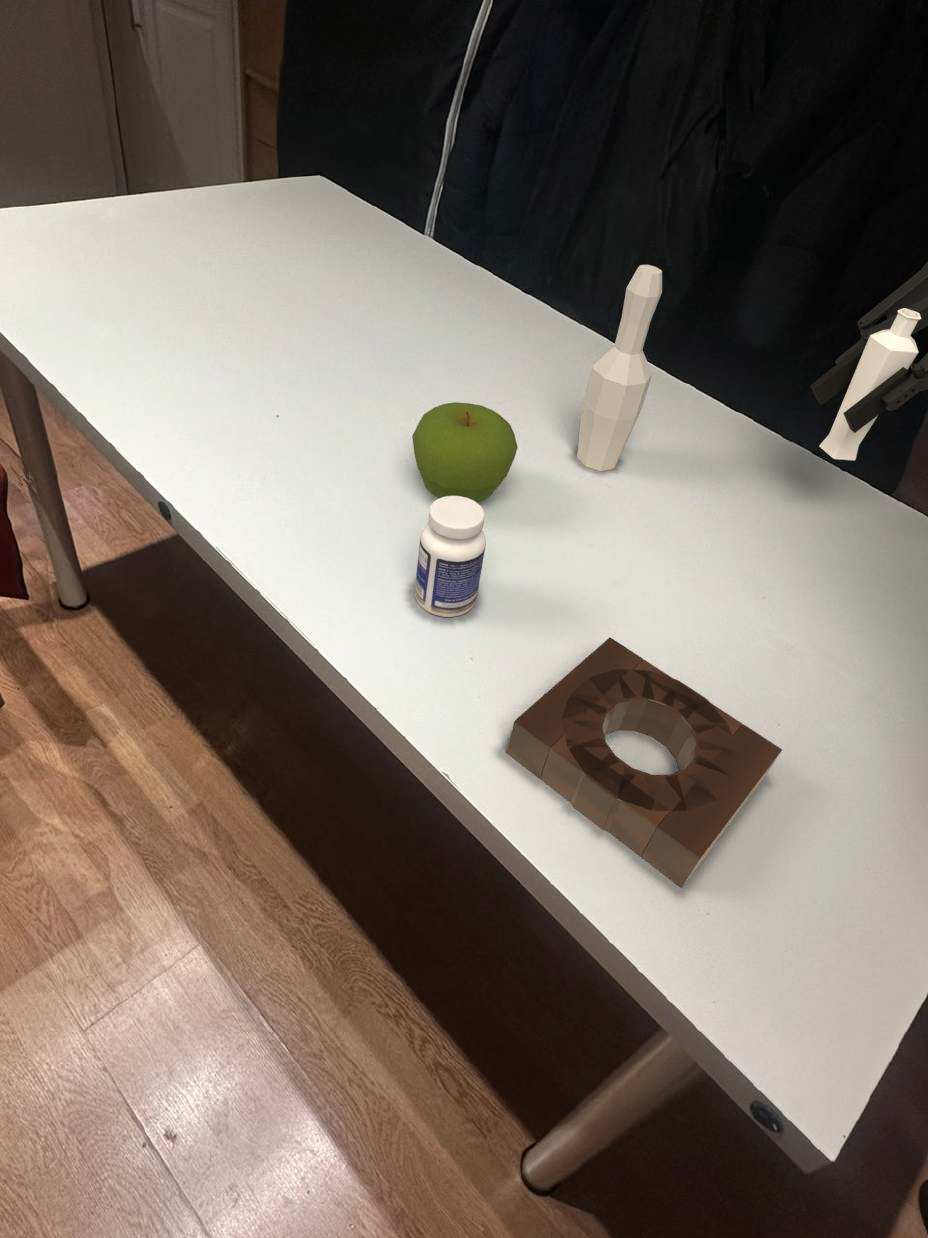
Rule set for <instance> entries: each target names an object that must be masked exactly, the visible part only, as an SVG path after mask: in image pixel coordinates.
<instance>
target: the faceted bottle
mask: <svg viewBox="0 0 928 1238" xmlns="http://www.w3.org/2000/svg"><path fill="white" fill-rule="evenodd" d="M662 293H663V270H662V269H660V268H658V267H657V266H654V265H650V264H640V265H639V266H638V267H637V269H636V270H635V272H634V274H633V276H632V278H631V279H630V280H629V283H628V285H627V286H626V288H625V295H624V296H625V297H624V301H623V307H622V312H621V313H622V314H621V319H620V322H619V326H618V330H617V335H616V338H615V341H614V345H613V346H612V347H610V348H609V349H608V350H607V351H606V352H604V353H603V354H602V355H601V356H600V357H599V358H598V359H597V360H596V361H595V362H594V363H593V365H592V366H591V368H590V372H589V377H588V380H587V383H586V387H585V393H584V396H583V401H582V405H581V407H582V408H581V417H580V426H579V433H578V434H579V435H578V445H577V454H576V458H577V460H579V462H580V463H582V464H583V465H584V467H586V468H589V469H592V470H594V471H598V472H605V471H610V470H614V469H615V467H617V464H618V462H619V461H620V458H621V456H622V453H623V451H624V449H625V447H626V445H627V442H629V441H628V440H629V439H630V436H631V434H632V432H633V429H634V428H635V424H636V423H637V421H638V418H639V416H640V414H641V412H642V409H643V406H644V404H645V400H646V397H647V393H648V390H649V387H650V383H651V380H652V377H653V372H652V369H651V367H650V364H649V362H648V359H647V357H646V355H645V353H644V351H643V349H644V346H645V343H646V339H647V335H648V332H649V328H650V325H651V322H652V318H653V316H654V314H655V311H656V309H657V306H658V303H659V302H660V299H661V295H662Z"/></svg>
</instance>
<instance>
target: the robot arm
mask: <svg viewBox="0 0 928 1238" xmlns="http://www.w3.org/2000/svg"><path fill="white" fill-rule="evenodd" d="M903 308H906V309H909V310H912V311H915V312H918V313H919V314H920V316H921V319H920V320H918V322H917V324H916V326H915V328H914V330H913V331H912V333H911V335H910V336H912V335H913V334H916V333H917V332H919V331H921V330H922V329H925V328H927V327H928V260H927V261H926V262H925V264H924V265H923V266H922V268H921V269H920V270H919V271H918V272H916V273H915V274H914V275H913V276H912V277H910V278H909V279H907V280H906V281H905V282H903V284H901V285H900V286H899V287H898V288H897V289H895V290H894V291H893V292H891V293H890V294H889V295H888V296H887V297H886V298H884V299H883V300H882V301H880V302H879V303H878V304H877V305H875V306H874V307H873V308H871V309H870V310H869V311H868V312H867V313H866V314H864V315H863V316H862V317H861V318H859V320H857V327H858V329H859V333H860V334H861V338H860V339H859V340H858V341H856V343H854V344H853V345H852V346H851V347H849V348H847V350H846V351H844V352H843V353H842V354H841V355H839V356H838V357H837V358H836V360H834V361H835V362H834V363H835V365H834V366H833V367H832V368H830V369H829V370H828V371H827V372H826V373H824V374H822V376H820V377H819V378H817V380H815V381H814V382H813V383H812V384H811V385H810V388H811V390H812V393H813V395H814V397H815V399H816V401H817V402H818V403H819V404H820V405H821V406H823V405H824V404H826V403H827V402H828V401H829V400H831V399H832V398H833V397H834V396H836V395H837V394H839V393H840V392H841V391H842V390H843V389H845V388H846V387H847V386H849V385H850V383H851V380H852V378H853V375H854V373H855V371H856V368H857V366H858V363H859V361H860V358H861V356H862V354H863V351H864V349H865V346H866V344H867V342H868V339H869V337H870V335H872V334H874V333H877V332H879V331H882V330H886V329H890V328H891V326H892V324H893V322H894V320H895V319H896V317H897V315H898V310H900V309H903ZM910 369H911V373H910V371H909V369H908V370H907V369H906V368H904V367H902V368H901V369H900V370H899V371H897V372H896V373H895V374H893V375H892V376H891V377H889V378H888V379H887V380H886V381H884V382H883V383H882V384H880V385H879V386H878V387H876V388H875V389H874V390H873V391H871V392H870V393H869V394H867V395H866V396H865V397H863V398H862V399H861V400H860V401H858V402H857V403H856V404H854V405H853V406H852V407H850V408H849V409H848V410H847V411H845V412H844V413H843V414H844V416H845V419H846V421H847V423H848V426H849V428H850V429H851V430H852V431H853V432H854V433H856V432H857V431H858V430H860V429H861V428H862V427H864V426H865V425H866V424H867V423H869V422H870V421H871V420H873V419H874V418H875V417H877V416H878V417H879V416H880V415H881V414H882V413H883V412H885V411H886V410H888V411H889V412H892V411H895V410H897V409H898V408H901V406H902V405H904V404H906V402H908V401H909V400H910V399H911V398H913V397H915V396H916V395H917V394H918V393H920V392H922V391H926V390H928V352H927V353H926V354H925V355H924V356H923V357H922V358H921V359H920V360H919V361H918V362H917V363H914V362H912V363H911V365H910ZM878 417H877V418H878Z"/></svg>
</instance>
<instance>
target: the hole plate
mask: <svg viewBox="0 0 928 1238" xmlns="http://www.w3.org/2000/svg"><path fill="white" fill-rule="evenodd" d="M617 731H633V732H634V731H635V732H638V733H640V734H642V735H647V736H649V737H652V738H653V739H655V740H656V741H657V742H659V743H661V745H664V746H665V747H666V749H667V750H668V751H669V752H670V754H671V755H672V756H673V757H674V759H675V760H676V763H677V767H678V769H679V770H678V771H676V772H673V773H671V774H653V773H648V772H646V771H643V770H641V769H637V768H634V767H632V766H631V765H629V764H628V763H626V762H625V761H624V760H623V759H621V758H619V757H618V756H617V755H616V753H614V751H613V750H612V748H611V747H610V745H609V744H608V743H607V741H606V736H605V735H608V734H611V733H614V732H617ZM782 751H783V749H782V748H781V747H780V746H777V745H776V744H775V743H773V742H771V740H768V739H767V738H765V737H764V736H762V735H761V734H759V733H758V732H756V731H755V730H753V729H752V728H750V727H749V726H747V725H746V724H744V723H742V722H741V721H739V720H738V719H736V718H734V717H733V716H732V715H730V714H728V713H727V712H726V711H724V710H723V709H721V708H719V707H718V706H716V705H715V704H713V703H712V702H711V701H710V700H708V698H706V697H705V696H704V695H702V694H701V693H699V692H697V691H696V690H694V689H693V688H692V687H690V686H689V685H687V684H685V683H683V682H682V681H681V680H678V679H676V678H673V677H672V676H670V675H669V674H667V673H666V672H664V671H663V670H661V669H660V668H658V667H656V666H655V665H654V664H652V663H651V662H649V661H647V659H644V658H643V657H641V656H640V655H639V654H637V653H635V652H634V651H632V650H631V649H629V648H628V647H626V646H625V645H623V644H622V643H620V642H618V641H617V640H615V639H614V638H612V637H608V638H607V639H606V640H605V641H603V642H602V643H601V644H600V645H599V646H598V647H596V649H594V650H593V651H591V653H590V654H589V655H588V656H587V657H585V658H584V659H583V660H582V661H581V662H580V663H579V664H577V665H576V666H575V667H573V669H571V671H570V672H568V673H567V674H566V675H565V676H564V677H563V678H561V679H560V680H559V681H558V682H557V683H556V684H555V685H553V686H552V687H551V688H549V690H548V691H546V693H544V694H543V695H542V696H541V697H540V698H539V699H538V700H536V701H535V702H534V703H533V704H532V705H530V707H528V708H527V709H526V710H525V711H524V712H523V713H521V714H520V715H519V716H518V717H517V718H516V719H515V720H513V724H512V729H511V733H510V737H509V740H508V744H507V748H506V751H505V753H506V754H507V755H508V756H509V757H510V758H512V759H514V760H515V762H517V763H518V764H520V765H521V766H522V767H524V768H526V770H528V771H529V772H531V774H533V775H534V776H536V777H537V778H538V779H540V781H542V782H543V783H545V784H546V785H547V786H548V787H550V788H551V789H552V790H554V791H555V792H556V793H558V794H559V795H560V796H562V797H563V798H564V799H565V800H567V801H568V802H569V803H570V804H571V805H572V806H573V808H574V809H575V810H576V811H578V812H579V813H581V814H582V815H583V816H585V817H586V818H587V819H588V820H589V821H591V822H592V823H594V824H595V825H596V826H597V827H599V828H600V829H602V830H603V831H606V832H608V833H610V834H611V835H612V836H614V838H616V839H617V840H619V841H620V842H621V843H622V844H624V845H625V846H626V847H627V848H629V849H630V850H631V851H633V852H634V853H636V854H637V855H638V856H639V857H641V858H642V859H643V860H644V861H646V862H647V863H648V864H650V865H651V866H652V867H654V868H655V869H656V870H657V871H659V873H661V874H663V875H664V876H665V877H666V878H667V879H669V880H671V881H672V882H673V883H674V884H676V885H677V886H678V887H680V889H682V888H683V887H684V886H685V884H686V883H687V882H688V880H689V879H690V878H691V876H692V875H693V874H694V872H695V871H696V870H697V868H698V867H699V866H700V864H702V862H703V861H704V860H705V858H706V857H707V855H708V854H709V853H710V851H711V850H712V849H713V847H714V846H715V845H716V843H717V842H718V840H719V839H720V838H721V837H722V835H723V834H724V832H725V831H726V830H727V828H728V827H729V826H730V824H731V823H732V822H733V820H734V819H735V817H737V815H738V814H739V813H740V811H741V810H742V808H743V807H744V806H745V804H746V803H747V802H748V801H749V799H750V798H751V797H752V795H753V793H754V792H755V791H756V790H757V788H759V786H760V785H761V783H762V782H763V781H764V779H765V777H766V776H767V774H768V773H769V771H770V770H771V768H772V767H773V765H774V764H775V762H776V760H777V759H778V757H779V756H780V754H781V753H782Z"/></svg>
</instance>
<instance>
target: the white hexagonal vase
mask: <svg viewBox="0 0 928 1238" xmlns="http://www.w3.org/2000/svg"><path fill="white" fill-rule="evenodd" d="M920 319H921V316H920V314H919V313H918V312H915V311H912V310H909V309H906V308H903V309H900V310H898V315H897V317H896V319H895V320H894V322H893V324H892V326H891V328H890V329H886V330H882V331H879V332H877V333H874V334H872V335H870V337H869V339H868V342H867V344H866V346H865V349H864V351H863V354H862V356H861V358H860V361H859V363H858V366H857V368H856V371H855V373H854V375H853V378H852V380H851V383H850V384H849V385H848V388H847V390H846V393H845V395H844V397H843V400H842V402H841V405H840V407H839V410H838V412H837V415H836V417H835V419H834V422H833V424H832V427H831V429H830V431H829V433H828V435H827V436H826V437H825V438H824V440H822V442H821V443H820V444H819V448H820V449H822V450H823V451H824V452H825V453H826V454H827V455H829V456H830V457H831V458H832V459H833V460H840V461H841V460H842V461H843V460H844V461H856V460H857V455H858V451H859V447H860V445H861V443H862V441H863V440H864V438H865V437H866V435H867V433H868V432H869V431H870V429H871V428H872V426H873V424H874V423H875V421H876V420H877V418H878V417H879V415H878V416H877V417H875V418H874V419H873V420H871V421H870V422H869V423H867V424H866V425H865V426H864V427H862V428H861V429H860V430H858V431H857V432H856V433H854V432H853V431H852V430H851V429H850V428H849V426H848V423H847V421H846V419H845V416H844V414H843V413H844V412H845V411H847V410H848V409H849V408H850V407H852V406H853V405H854V404H856V403H857V402H858V401H860V400H861V399H862V398H863V397H865V396H866V395H867V394H869V393H870V392H871V391H873V390H874V389H875V388H876V387H878V386H879V385H880V384H882V383H883V382H884V381H886V380H887V379H888V378H889V377H891V376H892V375H893V374H895V373H896V372H897V371H899V370H900V369H901V368H902V367H904V368H906V369H907V370H908V371H909V368H911V364H912V363H914V361H915V359H916V358H917V356H918V354H919V349H918V346H917V342H916V340H915V339H914V338H913V337H912V335H911V333H912V331H913V330H914V328H915V326H916V324H917V322H918V320H920Z"/></svg>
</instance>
